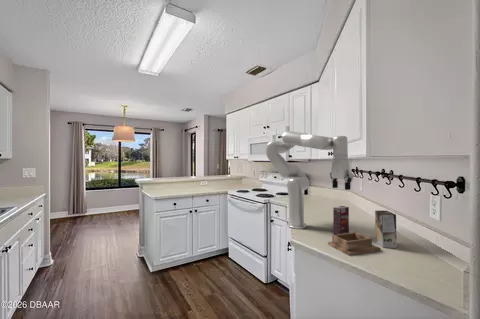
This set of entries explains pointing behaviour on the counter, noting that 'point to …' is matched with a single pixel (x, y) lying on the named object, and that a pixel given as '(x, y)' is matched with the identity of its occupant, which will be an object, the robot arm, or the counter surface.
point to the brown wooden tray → (353, 243)
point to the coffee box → (385, 229)
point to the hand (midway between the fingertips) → (341, 188)
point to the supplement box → (340, 220)
